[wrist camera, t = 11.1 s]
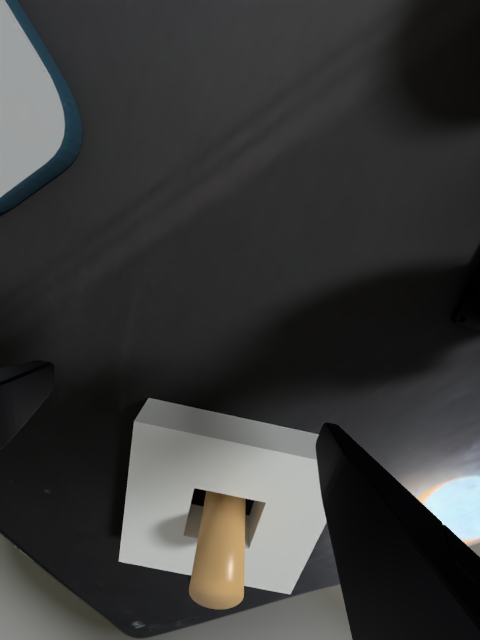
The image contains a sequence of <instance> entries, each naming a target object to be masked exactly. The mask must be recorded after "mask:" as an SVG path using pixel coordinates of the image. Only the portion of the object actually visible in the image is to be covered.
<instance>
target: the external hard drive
mask: <svg viewBox="0 0 480 640" xmlns="http://www.w3.org/2000/svg"><path fill="white" fill-rule="evenodd" d="M62 107H63V108H62ZM82 136H83V131H82V122H81V117H80V114H79V110H78V107H77V104H76V102H75V99H74V97H73V95H72V92H71V90H70V88H69V86H68V85H67V83H66V81H65V79H64V77H63V75H62V74H61V72H60V70H59V69H58V67H57V65H56V63H55V62H54V60H53V58H52V57H51V55H50V53H49V52H48V50H47V48H46V47H45V45H44V43H43V42H42V40H41V38H40V37H39V35H38V33H37V32H36V30H35V28H34V27H33V25H32V23H31V22H30V20H29V18H28V17H27V15H26V13H25V12H24V10H23V8H22V7H21V5H20V3H19V2H18V0H0V213H2V212H6V211H8V210H9V209H11V208H13V207H15V206H16V205H18V204H19V203H20V202H22V201H23V200H24V199H26V198H27V197H29V196H30V195H31V194H33V193H34V192H35V191H37V190H38V189H40V188H41V187H42V186H44V185H45V184H47V183H48V182H49V181H51V180H52V179H53V178H55V177H56V176H58V175H59V174H60V173H62V172H63V171H64V170H65V169H67V168H68V167H69V166H70V165H71V164H72V163H73V161H74V160H75V159H76V157H77V156H78V153H79V151H80V148H81V145H82Z"/></svg>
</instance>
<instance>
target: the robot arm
mask: <svg viewBox="0 0 480 640" xmlns="http://www.w3.org/2000/svg"><path fill="white" fill-rule="evenodd" d="M461 316H462V318H461V319H460V320H459V318H460V317H461ZM451 320H452V322H453V323H455V324H457V325H460V326H464V327H469V328H473V329H477V330H480V264H479V266H478V268H477V270H476V272H475V274H474V275H473V277H472V279H471V281H470V283H469V285H468V287H467V289H466V291H465V292H464V294H463V296H462V298H461V300H460V302H459V304H458V306H457V307H456V309H455V311H454V313H453V315H452V318H451ZM53 388H54V365H53V364H52V363H51V362H46V361H41V360H37V361H32V362H28V363H23V364H19V365H14V366H10V367H5V368H1V369H0V450H1V449H2V448H3V447H4V446H5V445H6V444H7V443H8V442H9V441H10V440H11V439H12V438H13V437H14V436H15V435H16V434H17V433H18V432H19V430H20V429H21V428H22V427H23V426H24V425H25V423H26V422H27V421H28V420H29V419H30V417H31V416H32V415H33V414H34V413H35V411H36V410H37V409H38V408H39V407H40V405H41V404H42V403H43V402H44V401H45V399H46V398H47V397H48V396H49V395H50V393H51V392H52V390H53ZM316 457H317V465H318V474H319V482H320V490H321V497H322V502H323V507H324V512H325V516H326V521H327V525H328V530H329V534H330V539H331V543H332V548H333V553H334V557H335V562H336V566H337V571H338V575H339V580H340V584H341V589H342V593H343V598H344V602H345V607H346V612H347V616H348V620H349V625H350V630H351V634H352V639H353V640H480V557H479V556H478V555H477V554H476V553H475V552H473V551H472V550H471V549H470V548H469V547H468V546H467V545H466V544H465V543H464V542H462V541H461V540H460V539H459V538H458V537H457V536H456V535H455V534H454V533H453V532H452V531H451V530H450V529H449V528H448V527H446V526H445V525H443V524H442V522H441V521H440V520H439V519H438V518H437V517H436V516H435V515H434V514H432V513H431V512H430V511H429V510H428V509H427V508H426V507H425V506H424V505H423V504H422V503H421V502H420V501H419V500H417V499H416V498H415V497H414V496H413V495H412V494H411V493H410V492H409V491H408V490H407V489H406V488H405V487H404V486H402V485H401V484H400V483H399V482H398V481H397V480H396V479H395V478H394V477H393V476H392V475H391V474H390V473H389V472H387V471H386V470H385V469H384V468H383V467H382V466H381V465H380V464H379V463H378V462H377V461H376V460H375V459H374V458H372V457H371V456H370V455H369V454H368V453H367V452H366V451H365V450H364V449H363V448H362V447H361V446H360V445H359V444H357V443H356V442H355V441H354V440H353V439H352V438H351V437H350V436H349V435H348V434H347V433H346V432H345V431H344V430H342V429H341V428H340V427H339V426H338V425H336V424H332V423H324V424H323V426H322V429H321V431H320V433H319V436H318V438H317V441H316Z"/></svg>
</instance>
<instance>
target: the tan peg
mask: <svg viewBox="0 0 480 640" xmlns="http://www.w3.org/2000/svg"><path fill="white" fill-rule="evenodd" d="M245 507H246V499H245V498H240V497H235V496H231V495H226V494H221V493H216V492H211V491H206V495H205V501H204V506H203V512H202V518H201V524H200V529H199V535H198V541H197V547H196V552H195V558H194V564H193V569H192V575H191V581H190V587H189V594H190V596H191V598H192V599H193V600H194V601H195V602H196V603H198V604H200V605H202V606H204V607H207V608H211V609H228V608H232V607H234V606H236V605H238V604H239V603H240V602H241V601H242V600H243V597H244V558H245Z"/></svg>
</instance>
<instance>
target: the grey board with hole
mask: <svg viewBox="0 0 480 640" xmlns="http://www.w3.org/2000/svg"><path fill="white" fill-rule="evenodd" d="M318 436H319V434H315V433H310V432H305V431H301V430H296V429H291V428H287V427H282V426H277V425H273V424H268V423H263V422H259V421H254V420H250V419H245V418H240V417H236V416H231V415H226V414H222V413H217V412H212V411H208V410H203V409H198V408H194V407H189V406H184V405H180V404H175V403H171V402H166V401H161V400H157V399H152V398H148V400H147V401H146V403H145V404H144V406H143V408H142V409H141V411H140V412H139V414H138V416H137V417H136V419H135V420H134V426H133V435H132V444H131V453H130V463H129V472H128V481H127V490H126V499H125V509H124V518H123V527H122V536H121V546H120V555H119V562H124V563H129V564H134V565H140V566H145V567H150V568H155V569H160V570H166V571H171V572H176V573H181V574H186V575H192V569H193V564H194V558H195V552H196V547H197V541H198V535H199V529H200V524H201V518H202V512H203V506H199V505H194V504H191V500H192V496H193V492H194V488H196V489H201V490H206V491H211V492H216V493H221V494H226V495H231V496H235V497H240V498H245V499H250V500H254V503H253V506H252V509H251V512H250V515H249V516H248V515H245V558H244V586H249V587H254V588H259V589H264V590H269V591H275V592H280V593H285V594H291V592H292V590H293V588H294V586H295V584H296V582H297V580H298V578H299V576H300V574H301V572H302V570H303V568H304V566H305V564H306V562H307V560H308V558H309V556H310V554H311V552H312V550H313V548H314V546H315V544H316V542H317V540H318V538H319V536H320V534H321V532H322V530H323V528H324V526H325V524H326V522H327V521H326V516H325V512H324V507H323V502H322V497H321V490H320V482H319V474H318V465H317V457H316V441H317V438H318Z"/></svg>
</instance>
